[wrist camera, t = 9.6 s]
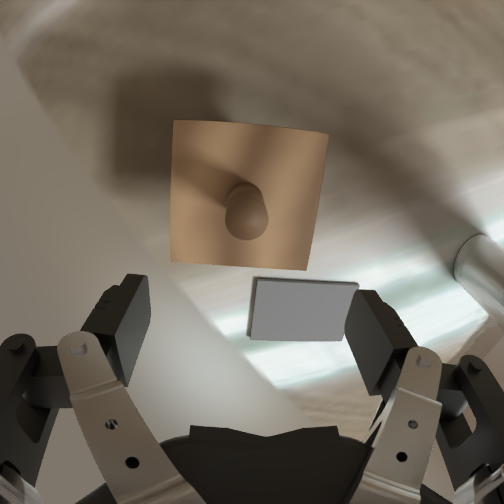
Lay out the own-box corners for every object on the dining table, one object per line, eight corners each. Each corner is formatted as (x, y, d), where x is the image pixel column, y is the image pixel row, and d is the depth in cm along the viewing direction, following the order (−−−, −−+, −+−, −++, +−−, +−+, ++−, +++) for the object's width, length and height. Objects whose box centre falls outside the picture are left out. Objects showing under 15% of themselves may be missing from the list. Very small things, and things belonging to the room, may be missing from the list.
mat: (358, 283, 41) (359, 285, 40) (340, 338, 45) (341, 341, 44) (257, 278, 39) (257, 280, 39) (250, 337, 44) (250, 339, 43)
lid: (325, 133, 23) (351, 139, 18) (304, 265, 28) (318, 302, 23) (176, 119, 22) (157, 121, 17) (172, 256, 27) (158, 292, 22)
